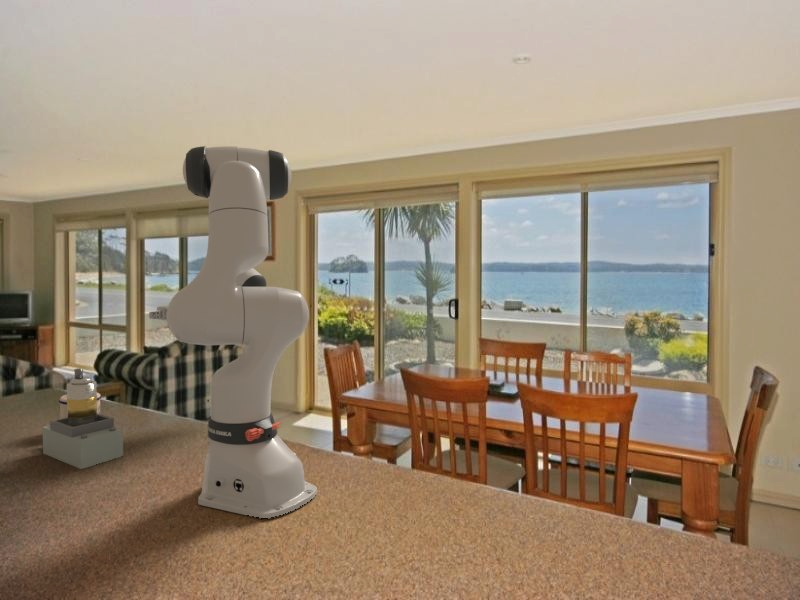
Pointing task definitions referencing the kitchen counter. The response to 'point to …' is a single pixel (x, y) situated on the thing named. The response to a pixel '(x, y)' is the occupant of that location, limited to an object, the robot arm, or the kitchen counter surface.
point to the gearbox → (83, 441)
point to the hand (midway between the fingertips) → (162, 316)
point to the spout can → (81, 400)
